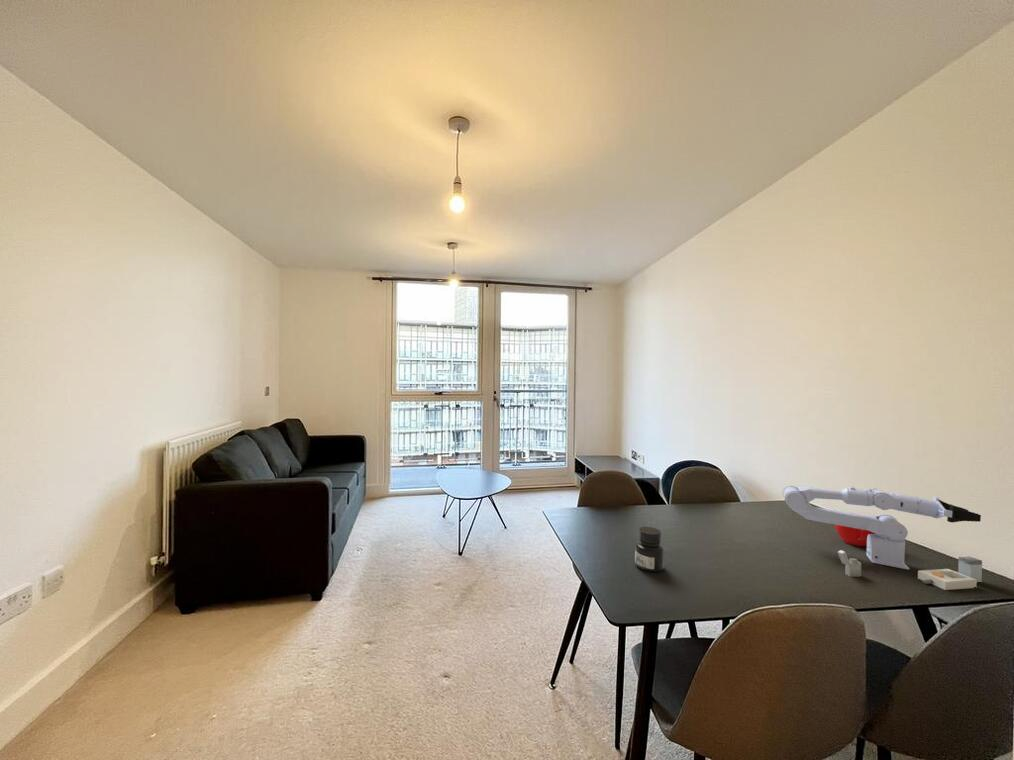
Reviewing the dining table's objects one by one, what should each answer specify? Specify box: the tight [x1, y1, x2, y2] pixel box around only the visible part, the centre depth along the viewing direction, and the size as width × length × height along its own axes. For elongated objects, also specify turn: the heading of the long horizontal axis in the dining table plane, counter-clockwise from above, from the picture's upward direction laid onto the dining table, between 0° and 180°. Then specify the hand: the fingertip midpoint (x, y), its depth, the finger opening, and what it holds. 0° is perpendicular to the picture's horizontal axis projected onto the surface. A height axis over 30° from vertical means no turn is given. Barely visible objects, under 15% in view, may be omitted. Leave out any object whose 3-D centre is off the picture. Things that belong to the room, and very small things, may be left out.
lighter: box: [837, 549, 862, 578], centre depth 128 cm, size 7×2×8 cm, turn 96°
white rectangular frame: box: [917, 568, 978, 591], centre depth 124 cm, size 14×7×3 cm, turn 99°
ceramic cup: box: [834, 512, 876, 547], centre depth 153 cm, size 13×17×10 cm
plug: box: [957, 556, 983, 583], centre depth 126 cm, size 4×3×7 cm, turn 99°
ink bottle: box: [634, 526, 665, 573], centre depth 130 cm, size 10×9×12 cm
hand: (973, 515), depth 127 cm, fingers open, 7 cm apart
